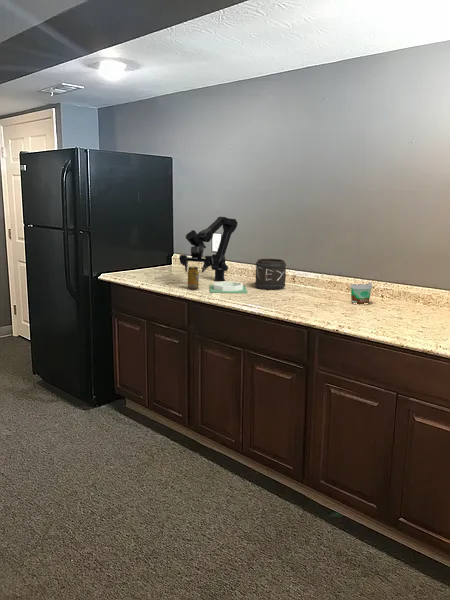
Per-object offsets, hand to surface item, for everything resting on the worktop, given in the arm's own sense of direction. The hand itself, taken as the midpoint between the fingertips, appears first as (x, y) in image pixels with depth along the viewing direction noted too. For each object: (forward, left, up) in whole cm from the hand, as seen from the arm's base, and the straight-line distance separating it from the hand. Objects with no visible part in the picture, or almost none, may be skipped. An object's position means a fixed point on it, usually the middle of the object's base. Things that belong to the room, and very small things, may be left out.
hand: (194, 272), depth 288 cm
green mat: (+3, +19, -9) cm, 21 cm away
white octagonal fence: (+3, +19, -9) cm, 21 cm away
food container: (+39, +84, -9) cm, 93 cm away
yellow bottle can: (+2, 0, -9) cm, 9 cm away
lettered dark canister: (-3, +43, -9) cm, 44 cm away
